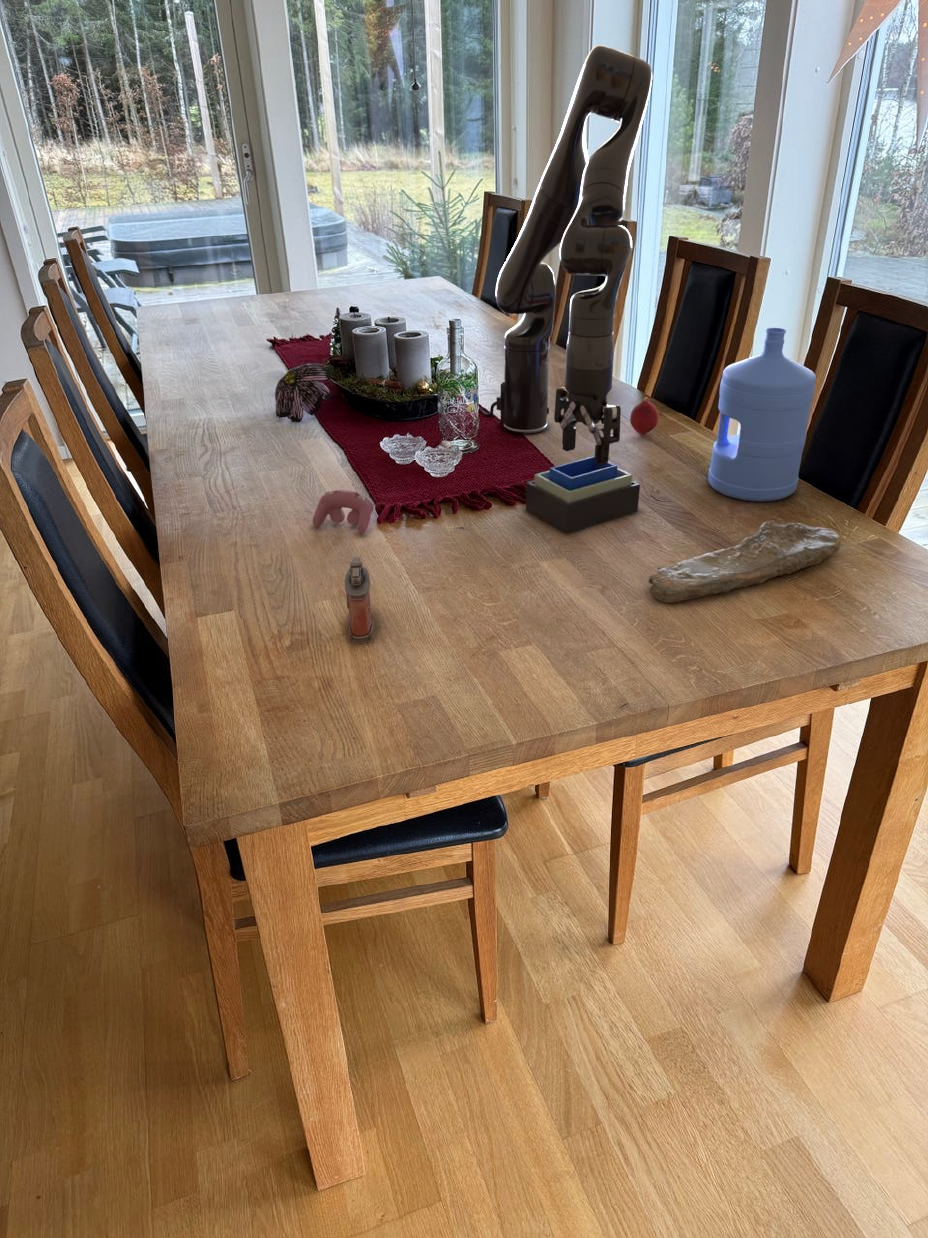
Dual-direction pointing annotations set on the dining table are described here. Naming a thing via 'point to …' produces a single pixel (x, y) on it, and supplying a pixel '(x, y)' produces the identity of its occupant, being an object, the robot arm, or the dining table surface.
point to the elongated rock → (745, 562)
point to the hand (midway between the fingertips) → (584, 457)
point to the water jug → (762, 424)
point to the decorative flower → (301, 391)
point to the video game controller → (344, 499)
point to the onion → (644, 417)
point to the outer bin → (581, 507)
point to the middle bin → (584, 492)
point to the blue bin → (582, 473)
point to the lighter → (359, 602)
